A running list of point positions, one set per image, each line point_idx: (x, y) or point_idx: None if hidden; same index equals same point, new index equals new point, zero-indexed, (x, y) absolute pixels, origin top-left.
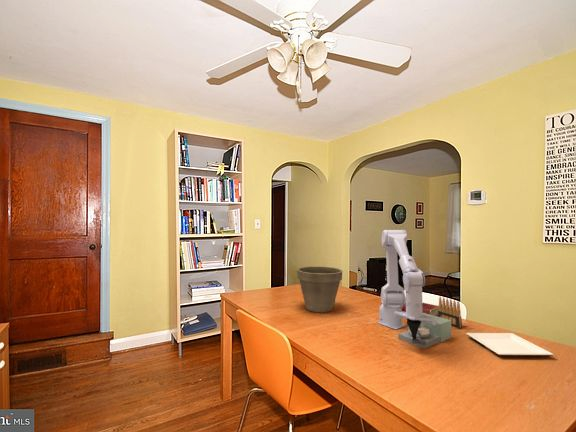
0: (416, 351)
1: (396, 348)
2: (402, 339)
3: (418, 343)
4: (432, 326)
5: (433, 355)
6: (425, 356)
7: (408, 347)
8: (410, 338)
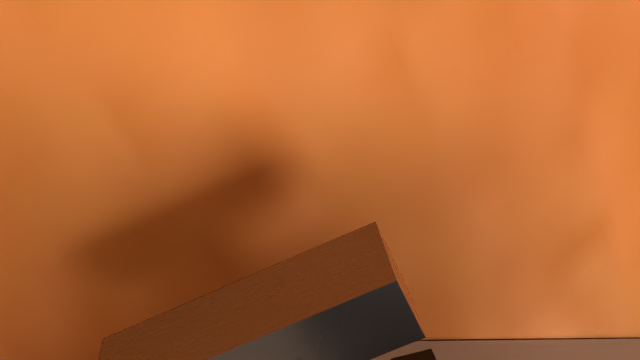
0: (300, 190)
1: (628, 30)
2: (607, 350)
3: (249, 288)
4: None
5: (32, 263)
6: (84, 133)
7: (460, 220)
8: None
